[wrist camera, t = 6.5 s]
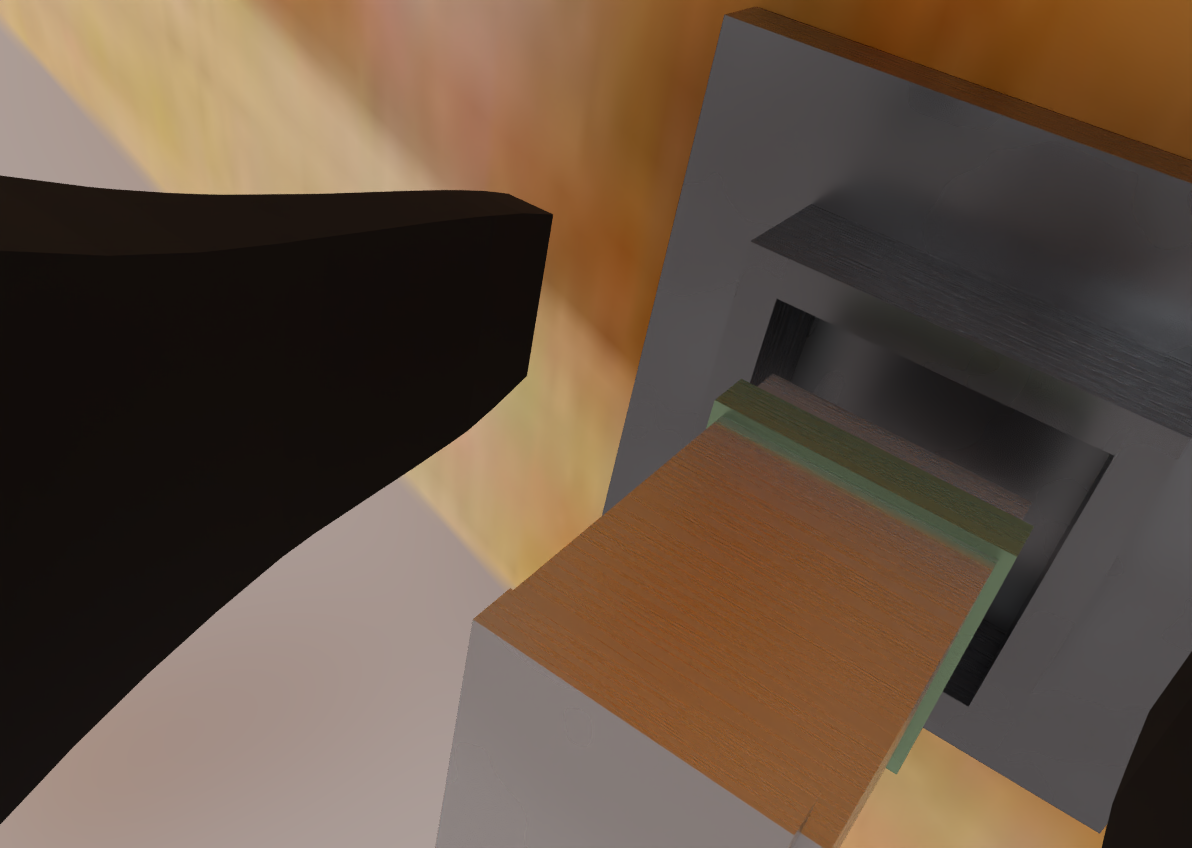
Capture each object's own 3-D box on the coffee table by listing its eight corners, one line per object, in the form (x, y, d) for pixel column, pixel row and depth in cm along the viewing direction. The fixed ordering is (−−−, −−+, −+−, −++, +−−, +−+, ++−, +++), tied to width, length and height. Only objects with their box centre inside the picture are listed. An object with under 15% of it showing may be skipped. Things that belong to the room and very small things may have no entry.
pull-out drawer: (1064, 472, 12) (842, 869, 8) (922, 728, 15) (693, 1142, 10) (774, 333, 14) (435, 595, 9) (691, 589, 16) (395, 896, 12)
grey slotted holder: (1505, 271, 12) (1545, 467, 9) (1112, 793, 18) (1030, 1051, 14) (755, 6, 16) (548, 60, 12) (625, 509, 22) (455, 653, 18)
